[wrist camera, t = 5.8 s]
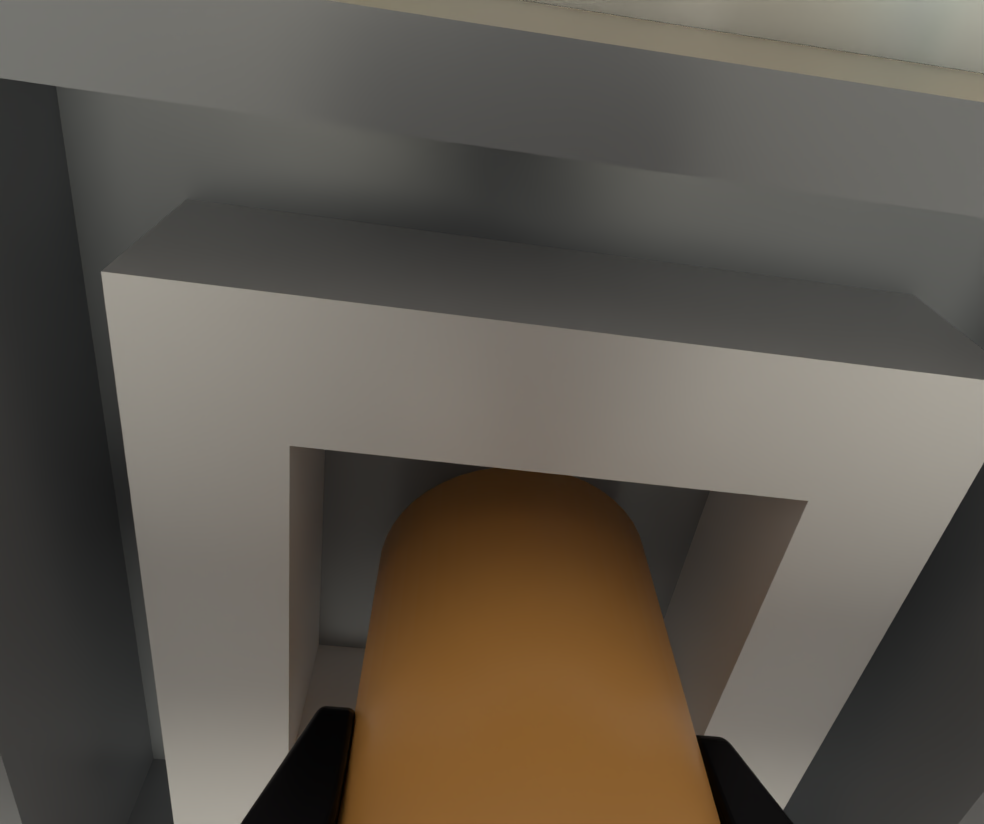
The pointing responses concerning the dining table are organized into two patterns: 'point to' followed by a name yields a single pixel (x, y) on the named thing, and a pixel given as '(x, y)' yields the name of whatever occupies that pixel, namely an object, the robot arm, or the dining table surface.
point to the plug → (520, 667)
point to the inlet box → (479, 375)
